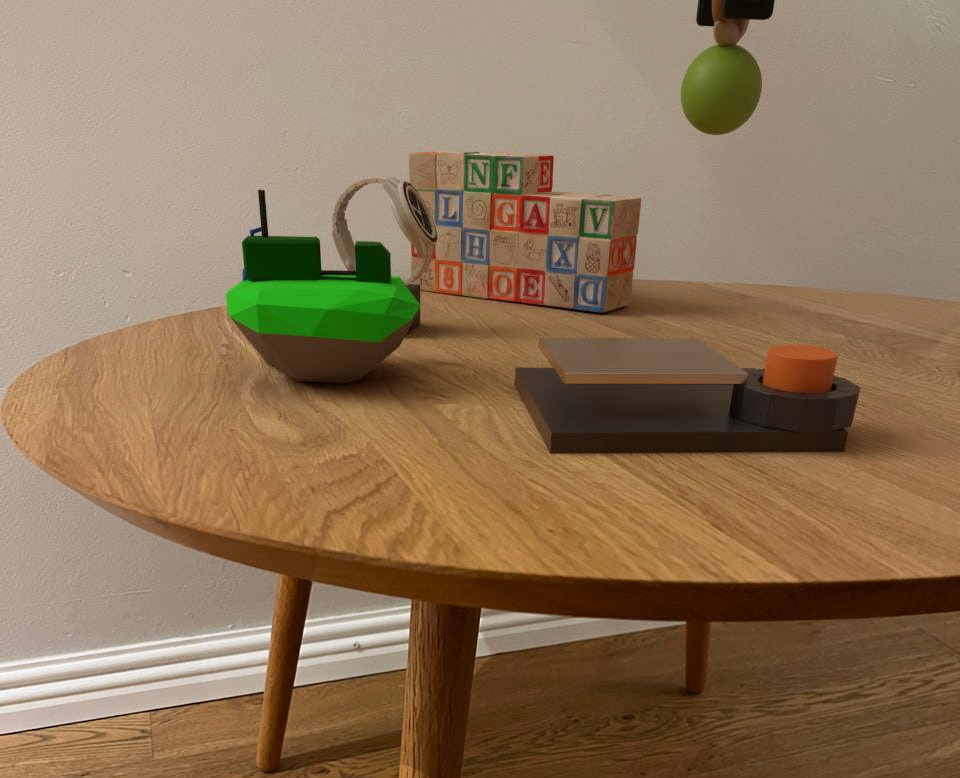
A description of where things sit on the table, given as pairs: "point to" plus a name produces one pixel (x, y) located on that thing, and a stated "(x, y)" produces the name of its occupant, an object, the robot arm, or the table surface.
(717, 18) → the snail figurine
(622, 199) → the stack of blocks
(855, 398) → the scale
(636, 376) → the scale pan
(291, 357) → the floating island model
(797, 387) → the tare button
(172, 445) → the table surface
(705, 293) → the table surface
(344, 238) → the watch
